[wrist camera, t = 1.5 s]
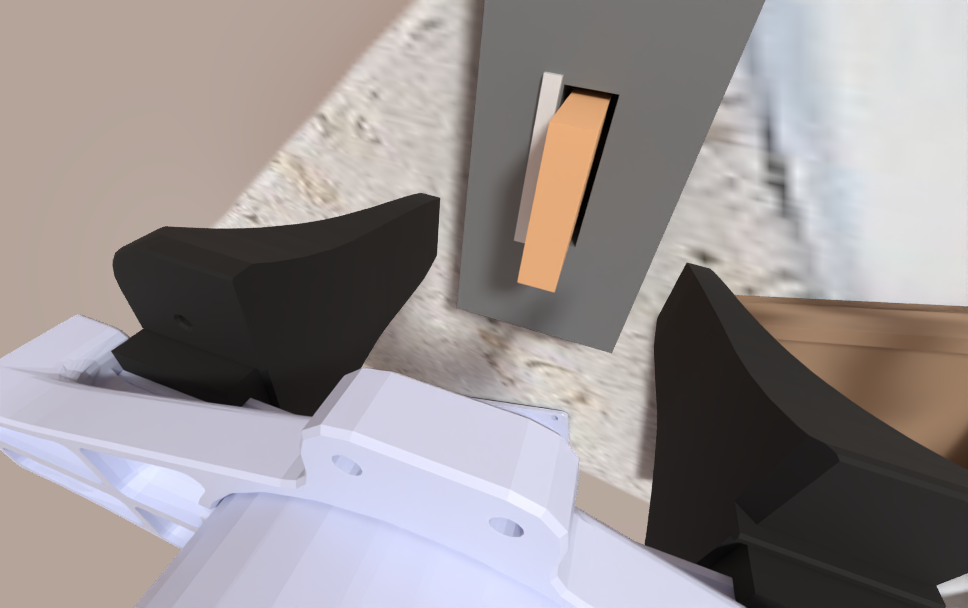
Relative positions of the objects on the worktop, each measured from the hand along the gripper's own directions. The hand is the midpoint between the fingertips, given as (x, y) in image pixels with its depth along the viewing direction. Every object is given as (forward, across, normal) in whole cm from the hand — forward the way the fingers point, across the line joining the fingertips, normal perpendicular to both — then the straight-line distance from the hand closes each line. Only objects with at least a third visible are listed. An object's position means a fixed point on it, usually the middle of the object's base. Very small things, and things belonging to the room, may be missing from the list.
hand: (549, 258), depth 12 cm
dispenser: (+11, 0, 0) cm, 11 cm away
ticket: (+11, 0, 0) cm, 11 cm away
